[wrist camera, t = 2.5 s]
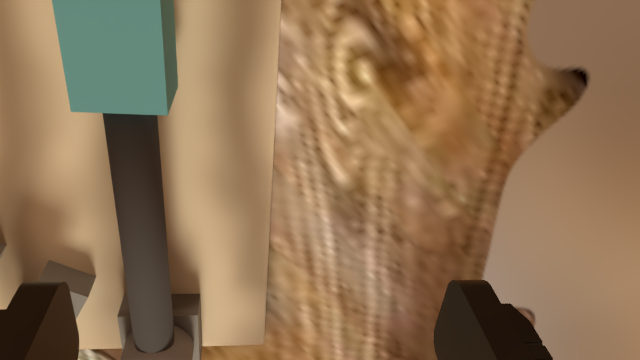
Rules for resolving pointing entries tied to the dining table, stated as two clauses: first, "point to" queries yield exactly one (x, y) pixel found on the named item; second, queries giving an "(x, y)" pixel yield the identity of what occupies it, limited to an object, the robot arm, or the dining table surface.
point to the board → (176, 163)
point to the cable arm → (130, 144)
